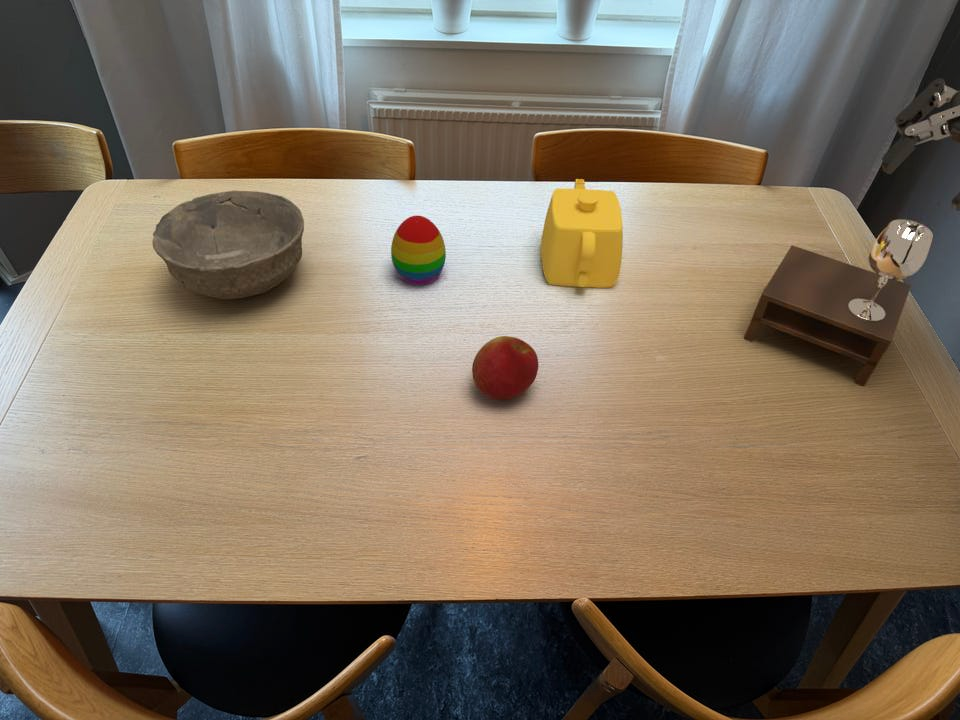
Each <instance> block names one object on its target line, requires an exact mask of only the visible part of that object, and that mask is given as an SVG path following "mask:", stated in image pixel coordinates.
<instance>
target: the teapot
mask: <svg viewBox="0 0 960 720" xmlns="http://www.w3.org/2000/svg"><path fill="white" fill-rule="evenodd" d="M585 183H586V182H585V178H584V179H583V178H575V182H574V187H573V188H556V189H554V190H553V192H552V195H551V198H550V201H549V204H548V207H547V211H546V215H545V218H544V222H543V229H542V233H541V239H540V257H541V258H540V260H541V265H542V270H543V275H544V278H545V281H546V283H547V284H549V285H552V286H560V287H576V288H599V289H603V288H604V289H605V288H606V289H607V288H613V287H614V285H616V282H617V281H618V278H619V275H620V273H621V267H622V259H623V244H624V241H623V240H624V239H623V238H624V235H623V214H622V209H621V205H620V201H619V198H618V196H617V194H616V193H615V192H614V191H613V190H605V189H589V188H586V184H585Z"/></svg>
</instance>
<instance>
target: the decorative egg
mask: <svg viewBox="0 0 960 720" xmlns="http://www.w3.org/2000/svg"><path fill="white" fill-rule="evenodd" d="M445 244H446V243H445V241H444V237H443V235H442V233H441V231H440V230H439V228H438V227H437V225H436V224H435V223H434V222H433V221H432V220H430V219H429V218H428V217H425V216H422V215H411V216H409V217H408V218H406V219H404V220H403V221H402V222H401V224H399V225H398V227H397V228H396V231H395V233H394V235H393V238H392V240H391V247H390V255H391V256H390V257H391V262H392V265H393V268H394V269H395V271H396V273H397V274H398V276H399V277H400V278H401V279H403V281H406V282H407V283H409V284H413V285H426V284H429V283H431V282H433V281H434V280H436V279H437V278H438V276H440V274H441V273H442V271H443V269H444V266H445V263H446V259H447V256H446V255H447V252H446V245H445Z"/></svg>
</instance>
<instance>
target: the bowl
mask: <svg viewBox="0 0 960 720" xmlns="http://www.w3.org/2000/svg"><path fill="white" fill-rule="evenodd" d="M304 231H305V219H304V217H303V213H302V211H301V209H300V208H299V206H297V205H296V204H294V203H293V201H291V200H290V199H289V198H287V197H285V196H283V195H279V194H273V193H270V192H265V191H255V190H227V191H222V192H215V193H209V194H205V195H201V196H197V197H194V198H193V199H191V200H187V201H184V202H182V203H180V204H177V206H175V207H173V208H172V209H170V210H169V211H167V213H165V214H164V215H162V217H161V218H160V220H159V222H158V223H157V224H156V226H155V229H154V231H153V233H152V236H153V238H152V241H151V242H152V248H153V250H154V252H155V253H156V254H157V255H158V256H159V257H160V258H161V259H162V261H164V263H165V264H166V266H167V270H168V272H169V274H170V276H171V277H172V278H173V279H174V280H175V281H176V282H177V283H179V284H180V285H181V286H183V287H185V288H187V289H189V290H190V291H192V292H195V293H197V294H201V295H204V296H206V297H212V298H217V299H221V300H238V299H239V300H240V299H243V298H249V297H252V296H255V295H260V294H263V293H265V292H268V291H269V290H271V289H272V288H274V287H276V286H279V285H280V284H281V283H283V281H284V280H286V279H287V278H288V277H289V275H291V274H292V273H293V271H294V270H295V269H296V267H298V265H299V263H300V261H301V260H302V258H303V257H302V256H303V241H302V240H303V234H304Z"/></svg>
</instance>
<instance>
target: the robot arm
mask: <svg viewBox="0 0 960 720" xmlns="http://www.w3.org/2000/svg"><path fill="white" fill-rule="evenodd" d="M947 103H949V108H947V109H945V110H943V111H940V112H937V113H934V114H932V115H930V116H929V117H928V118H927V119H925V120H923V119H924V118H925V117H926V116H927V115H929V114H930V112H932V110H934V109H935V108H940V107H942V106H943V105H945V104H947ZM894 121H895V125H896V128H897V132H898V134H900V135H901V136H900V137H899V138H898V140H897V141H895V143H894V144H892V146H891V147H890V148H889V149H888V150H887V151H886V152H885V153H884V154H883V156H882V158H881V160H882V163H881V168H882V171H883V172H884V173H886V174H888V175H891V174H893V173H894V172H895V171H896V169H898V167H899V166H900V165H901V164H903V162H904V161H905V160H906V159H907V158H908V157H909V156H910V155H911V154H912V153H913V152H914V151H915V150H916V146H917V145H921V144H924V143H927V142H929V141H939V140H942V139H945V138H948V137H951V140H952V141H954V142H957V143H960V89H959V90H956V89H954V88H953V87H950V86H948V85H946V82H945V79H944V78H941V77H938V78H935V79H934V80H932V81H931V82H930V83H929V84H928V85H927V86H926V88H925V89H923V90H922V91H921V92H920V93H919V94H918V95H917V96H916V97H915V98H914V99H913V100H912V101H911V102H910V103H909V104H908V105H907V106H906V107H905V108H904V109H903V110H902V111H901V112H900V113H899V114H898V115H897V116H896V117H895V119H894ZM951 207H952V209H954V210H956V211H958V212H960V191H959V192H958V193H957V194H956V195H955V196H954V197H953V198H952V200H951Z"/></svg>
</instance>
